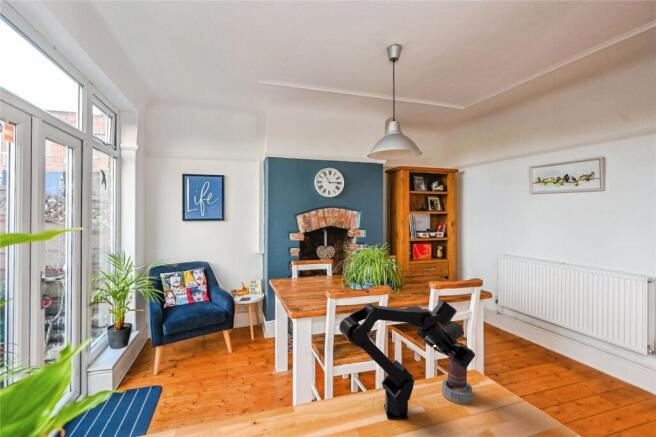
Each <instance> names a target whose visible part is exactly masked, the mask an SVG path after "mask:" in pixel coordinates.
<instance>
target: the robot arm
mask: <svg viewBox="0 0 656 437" xmlns="http://www.w3.org/2000/svg"><path fill="white" fill-rule="evenodd" d="M456 314H457V310H456V308H455V307H453V306H452V305H451V304H449V303H448V302H446V301H445V300H443V299H440V300H439V301H438V302H437V304H436V306H435V307H434V308H433V310H430V309H427V308H422V307H420V306H417V305H413V306H407V307H403V308H401V307H395V306H394V307H393V306H392V307H391V306H387V305H386V306H385V305H376V304H374V303H367V304H366V305H365V306H364V307H362V308H360V309H359V310H356V311H353V312H352V313H351V314H349V315H348V316H347V317H345V318H343V319H342V320H341V321H340V324H339V331H340V333H341V334H342V335H343V336H344V337H345V338H346V339H347V340H348V341H349V342H350V343H351V344H353V345H354V346H356V347H357V348H360V349H361V350H363V351H364V352H365V353H366V354H367V355H368V356H369V357H370V359H372V360H373V361H374V363H376V364H377V365H378V366H379V367H380V368H381V369H382V370H383V371H384V373H385V378H384V379H383V380H382V382H381V386H382V389H384V390H385V391H384V392H385V393H384V396H385V397H384V398H385V400H384V402H385V403H384V404H383V407H384V411H385V415H386V417H387V419H388V420H408V413H409V401H410V399H411V396H412V392H413V390H414V389H413V388H414V386H415V380H414V378H413V377H414V375H413V374H412V373H411V372H410V371H409V370H408V369H407V368H406V367H405V366H404V365H403V364H401V362H399V361H398V360H397V359H395V360H394V361H392V360H390V359H389V357H388V356H387V355H385V353H384V352H383V351H382V350H381V349H380V348H379V347H378V346H377V345H376V343H375V344H374V342H373V341H372V340H371V338H370V336H369V333H370V332H371V331H372V329H373V327H374V326H375V324H376V323H377V322H378V321H384V322H385V321H386V322H397V323H406V324H409V325H411V326H415V327H417V331H416V336H418V337H419V338H421V339H422V340H424V343H425V344H426V345H427V346H428V347H430V348H433V350H435V351H436V352H438V353H440V354H442V355H445V356H447V357H449V354H451V353H452V352H453V353H455V354H454V356H453V362H454V363H456V364H457V365H459V366H460V367H462V368H463V369H466V368H467V369H468V366H470V364H471V362H472V361H473V360H474V359H475V356H476V354H475V352H474V351H473V350H472V349H470V348H469V347H468V346H467V347H468V348H467V347H465V346H459V347H457V346H455V345H454V344H456V343H457V342H458V340H457V339H459V338H460V337H462V336H464V335H465V331H464V328H463V325H462V324H460V323H458V322H456V321H453V320H452V319H453V318H454V316H455V315H456ZM362 321H363V322H362ZM359 322H362V323H359ZM441 326H442V327H441ZM458 343H459V342H458ZM454 348H455V349H454ZM451 351H452V352H451Z"/></svg>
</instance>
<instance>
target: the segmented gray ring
mask: <svg viewBox="0 0 656 437" xmlns="http://www.w3.org/2000/svg"><path fill="white" fill-rule="evenodd" d="M441 387H442V388H441V394H442V396H443V397H444V399H446V400H447V401H449V402H451V403H453V404H456V405H460V406H461V405H464V406H465V405H469V404H471V403H472V402H473V386H472V385H471V384H470V383H469V382H467V383H466V387H465V388H463V389H459V388H455V387H452V386H451V385H450V384H449V383H448V377H447V378H445V379H443V381H442V386H441Z"/></svg>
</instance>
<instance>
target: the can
mask: <svg viewBox="0 0 656 437" xmlns="http://www.w3.org/2000/svg"><path fill="white" fill-rule="evenodd" d="M454 345H455V346H457V347H459V346H465V347H467V348H469V347H468V345H466V344H464V343H462V342H457V343H456V344H454ZM454 349H455V348H454ZM451 352H452V351H451ZM454 354H455V353H453V352H452V353H451V354H449V356H447V357H448V359H447V360H448V361H447V363H448V364H447V378H448V383H449V384H450V385H451V386H452V387H455V388H459V389H463V388H465V387H466V383H468V382H467V380H468V378H467V376H468V375H467V374H468V367H467V368H466V369H463V368H462V367H460V366H459V365H457V364H456V363H454V362H453V356H454Z"/></svg>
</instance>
